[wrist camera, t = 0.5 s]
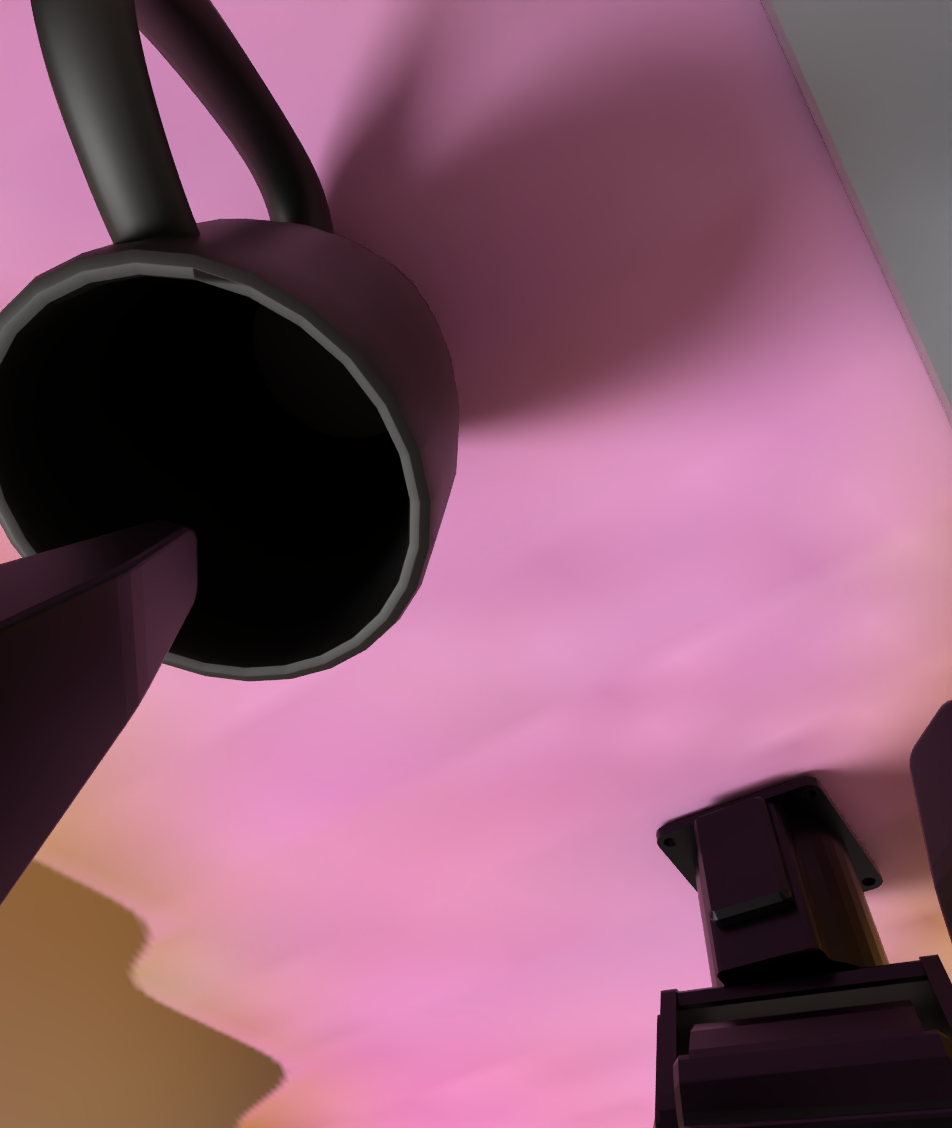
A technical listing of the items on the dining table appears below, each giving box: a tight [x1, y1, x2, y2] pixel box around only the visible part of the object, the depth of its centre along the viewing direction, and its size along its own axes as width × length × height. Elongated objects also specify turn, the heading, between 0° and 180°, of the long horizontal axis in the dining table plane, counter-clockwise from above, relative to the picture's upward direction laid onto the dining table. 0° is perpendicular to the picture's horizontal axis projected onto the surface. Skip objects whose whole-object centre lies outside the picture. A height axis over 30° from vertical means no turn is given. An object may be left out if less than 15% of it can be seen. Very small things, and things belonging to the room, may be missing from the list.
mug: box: [0, 0, 459, 681], centre depth 16 cm, size 8×12×10 cm
